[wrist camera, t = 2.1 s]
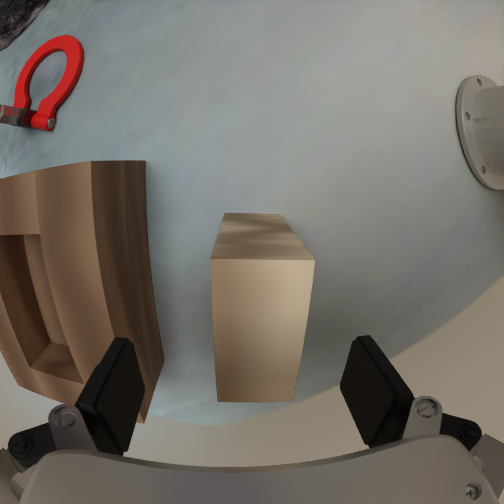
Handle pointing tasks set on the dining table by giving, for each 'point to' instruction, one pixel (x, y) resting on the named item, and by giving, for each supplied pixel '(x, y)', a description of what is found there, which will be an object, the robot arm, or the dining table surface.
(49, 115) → the tow hook
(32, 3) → the black rock
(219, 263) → the beige wooden bar
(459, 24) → the dining table surface
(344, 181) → the dining table surface
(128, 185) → the slotted wooden holder
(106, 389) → the robot arm
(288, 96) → the dining table surface
